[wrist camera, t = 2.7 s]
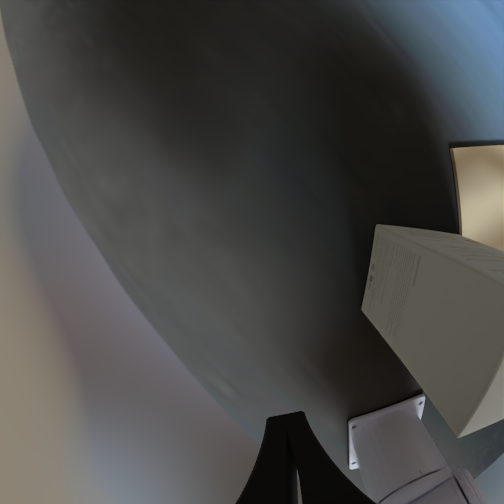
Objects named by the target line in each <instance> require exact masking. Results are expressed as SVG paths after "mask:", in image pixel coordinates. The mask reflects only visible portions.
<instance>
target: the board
mask: <svg viewBox="0 0 504 504" xmlns="http://www.w3.org/2000/svg"><path fill="white" fill-rule="evenodd" d="M450 153H451V159H452V165H453V171H454V178H455V186H456V195H457V205H458V218H459V235H461V236H464V237H467V238H470V239H472V240H475V241H477V242H480V243H483V244H485V245H488V246H490V247H493V248H496V249H498V250H501V251H503V252H504V145H493V146H475V147H462V148H450Z"/></svg>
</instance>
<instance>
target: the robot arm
mask: <svg viewBox="0 0 504 504" xmlns="http://www.w3.org/2000/svg"><path fill="white" fill-rule="evenodd" d="M424 402H425V396H424V394H420V395H418V396H415V397H413V398H410V399H408V400H405V401H403V402H400V403H397V404H395V405H392V406H389V407H386V408H384V409H381V410H378V411H375V412H372V413H369V414H366V415H362V416H359V417H356V418H353V419H351V420H349V422H348V437H349V469H356V468H359V471H360V474H361V477H362V480H363V483H364V486H365V489H366V492H367V496H368V497H367V496H366V495H365V494H364V493H363V492H361V491H360V490H359V489H358V488H357V487H356V486H355V485H354V484H353V483H352V482H351V481H350V480H349V479H348V478H347V477H346V476H345V475H344V474H343V473H342V472H341V471H340V469H339V468H338V467H337V466H336V465H335V463H334V462H333V461H332V460H331V458H330V457H329V456H328V455H327V453H326V452H325V450H324V449H323V447H322V446H321V444H320V443H319V442H318V440H317V438H316V437H315V435H314V433H313V431H312V430H311V428H310V426H309V423H308V421H307V419H306V416H305V412H303V411H299V412H294V413H289V414H284V415H279V416H273V417H269V418H268V419H267V421H266V428H265V433H264V437H263V441H262V445H261V448H260V451H259V454H258V457H257V460H256V463H255V466H254V468H253V471H252V473H251V475H250V477H249V480H248V482H247V484H246V486H245V488H244V490H243V491H242V493H241V495H240V497H239V499H238V500H237V502H236V504H298V490H297V470H298V475H299V480H300V487H301V495H302V503H303V504H487V502H486V500H485V498H484V497H483V495H482V493H481V491H480V489H479V488H478V486H477V484H476V483H475V481H474V479H473V478H472V476H471V474H470V473H469V471H468V469H466V468H462V469H461V468H457V469H456V470H455V471H454V473H455V475H456V476H455V475H454V473H453V472H452V471H451V469H450V468H449V467H448V465H447V464H446V462H445V460H444V458H443V457H442V455H441V453H440V452H439V450H438V448H437V446H436V445H435V443H434V441H433V440H432V438H431V436H430V435H429V433H428V431H427V430H426V428H425V426H424V425H423V423H422V421H421V417H422V412H423V407H424ZM456 477H457V478H456ZM457 479H458V480H457Z"/></svg>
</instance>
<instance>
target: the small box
mask: <svg viewBox="0 0 504 504" xmlns="http://www.w3.org/2000/svg"><path fill="white" fill-rule="evenodd" d="M361 310H362V312H363V313H364V314H365V315H366V317H367V318H368V319H369V320H370V322H371V323H372V324H373V325H374V326H375V328H376V329H377V330H378V331H379V333H380V334H381V335H382V337H383V338H384V339H385V341H386V342H387V343H388V344H389V346H390V347H391V348H392V350H393V351H394V352H395V353H396V355H397V356H398V357H399V358H400V360H401V361H402V362H403V364H404V365H405V366H406V368H407V369H408V370H409V372H410V373H411V374H412V376H413V377H414V378H415V380H416V381H417V382H418V384H419V385H420V386H421V388H422V389H423V390H424V392H425V393H426V394H427V396H428V397H429V399H430V400H431V401H432V403H433V404H434V406H435V407H436V408H437V410H438V411H439V412H440V414H441V415H442V417H443V418H444V420H445V421H446V422H447V424H448V425H449V427H450V428H451V430H452V431H453V433H454V434H455V436H456V437H457V438H460V437H462V436H465V435H467V434H470V433H472V432H474V431H477V430H479V429H482V428H484V427H486V426H489V425H491V424H493V423H495V422H497V421H499V420H502V419H504V252H503V251H501V250H498V249H496V248H493V247H490V246H488V245H485V244H483V243H480V242H477V241H475V240H472V239H470V238H467V237H464V236H461V235H458V234H452V233H446V232H439V231H432V230H425V229H417V228H409V227H401V226H392V225H381V224H377V225H376V227H375V235H374V241H373V248H372V254H371V260H370V266H369V272H368V278H367V283H366V288H365V293H364V298H363V303H362V308H361Z"/></svg>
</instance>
